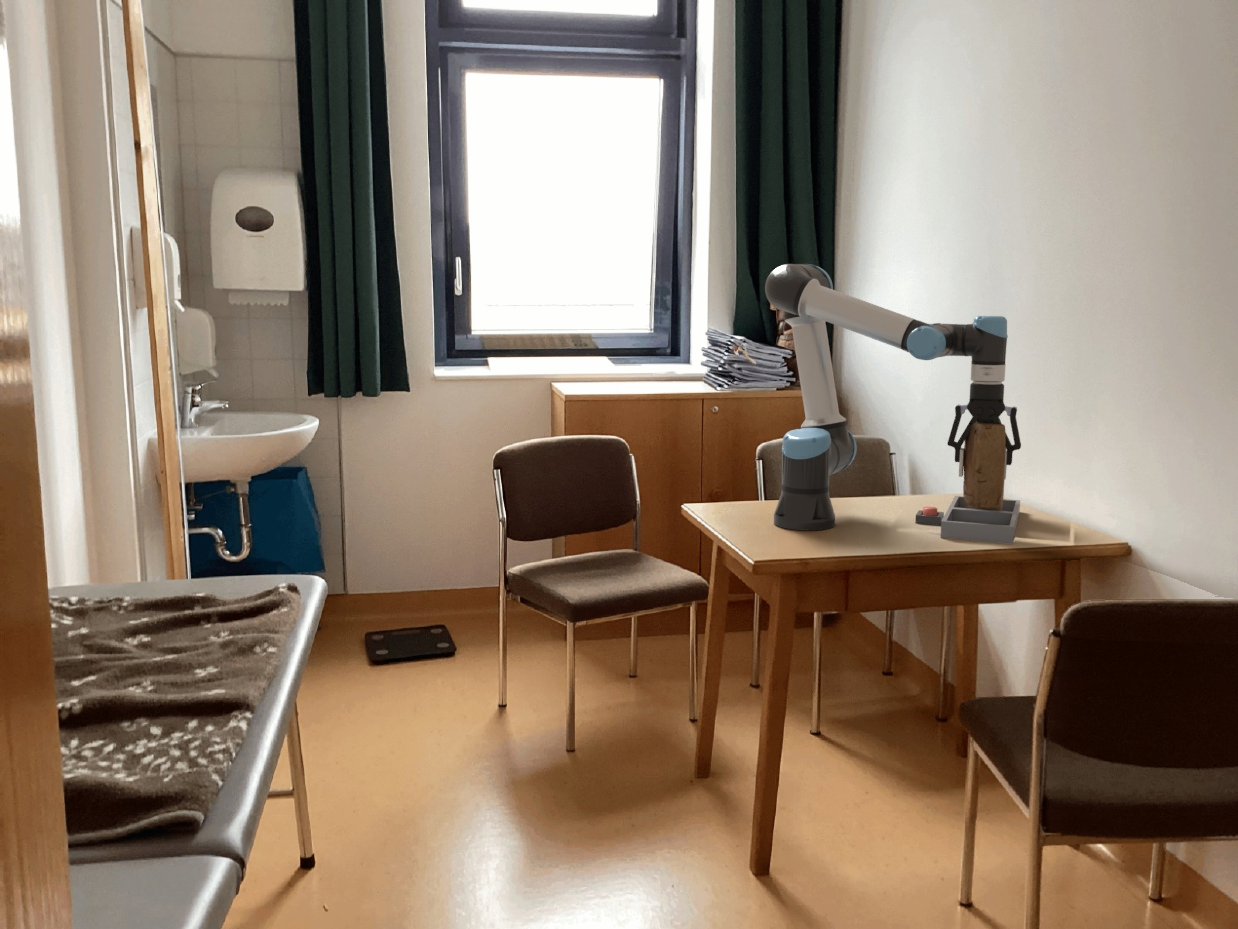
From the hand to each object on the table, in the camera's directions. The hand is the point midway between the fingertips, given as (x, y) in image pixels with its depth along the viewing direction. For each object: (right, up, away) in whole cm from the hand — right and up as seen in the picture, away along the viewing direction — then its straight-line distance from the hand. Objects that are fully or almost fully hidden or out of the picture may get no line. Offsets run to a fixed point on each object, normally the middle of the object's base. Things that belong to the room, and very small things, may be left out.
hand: (982, 477), depth 249 cm
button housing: (-9, -12, +11) cm, 19 cm away
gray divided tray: (+3, -12, +10) cm, 16 cm away
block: (0, -7, +1) cm, 7 cm away
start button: (-9, -11, +10) cm, 18 cm away
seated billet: (+6, -10, +17) cm, 20 cm away
